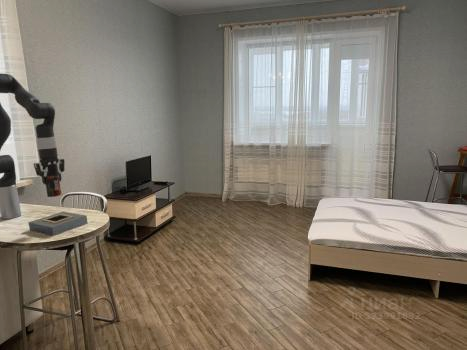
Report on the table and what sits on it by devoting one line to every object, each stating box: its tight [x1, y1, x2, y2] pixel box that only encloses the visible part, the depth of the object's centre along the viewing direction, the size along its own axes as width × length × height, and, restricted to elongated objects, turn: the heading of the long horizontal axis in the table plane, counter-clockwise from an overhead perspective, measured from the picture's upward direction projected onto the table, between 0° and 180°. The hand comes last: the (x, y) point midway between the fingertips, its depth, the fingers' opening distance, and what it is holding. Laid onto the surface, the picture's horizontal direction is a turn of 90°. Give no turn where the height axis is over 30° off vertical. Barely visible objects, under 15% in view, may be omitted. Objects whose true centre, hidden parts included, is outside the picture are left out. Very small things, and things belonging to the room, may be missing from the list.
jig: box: [27, 211, 88, 237], centre depth 165 cm, size 18×18×4 cm
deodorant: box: [43, 163, 62, 198], centre depth 161 cm, size 6×6×15 cm
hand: (52, 182), depth 161 cm, fingers closed on deodorant, 6 cm apart
